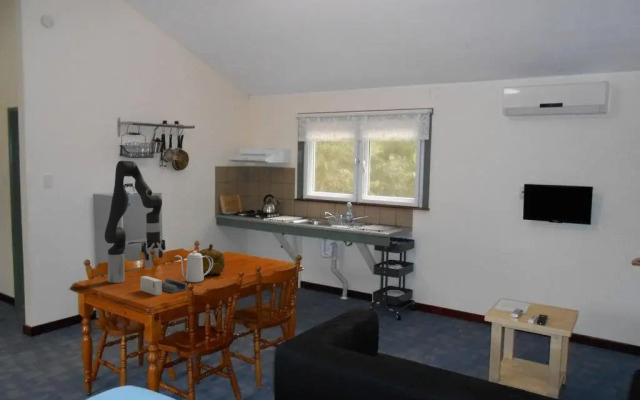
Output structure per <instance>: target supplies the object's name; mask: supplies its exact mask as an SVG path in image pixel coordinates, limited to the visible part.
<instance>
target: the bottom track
mask: <svg viewBox="0 0 640 400" xmlns="http://www.w3.org/2000/svg"><path fill="white" fill-rule="evenodd" d="M187 285H189V283H186V282H182V281H179V280H176V279H173V278H172V279H171V278H168V277H167V278H165V279H164V281H162V291H164V292H166V293H167V292H168V293H171V294H175V293H178V292H183V291H188V290H187Z"/></svg>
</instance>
